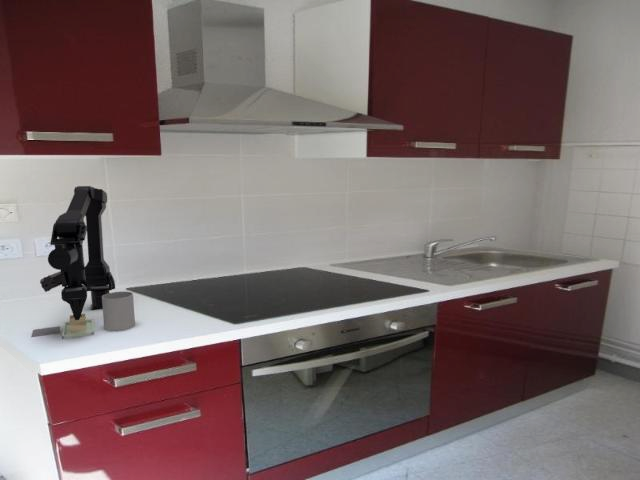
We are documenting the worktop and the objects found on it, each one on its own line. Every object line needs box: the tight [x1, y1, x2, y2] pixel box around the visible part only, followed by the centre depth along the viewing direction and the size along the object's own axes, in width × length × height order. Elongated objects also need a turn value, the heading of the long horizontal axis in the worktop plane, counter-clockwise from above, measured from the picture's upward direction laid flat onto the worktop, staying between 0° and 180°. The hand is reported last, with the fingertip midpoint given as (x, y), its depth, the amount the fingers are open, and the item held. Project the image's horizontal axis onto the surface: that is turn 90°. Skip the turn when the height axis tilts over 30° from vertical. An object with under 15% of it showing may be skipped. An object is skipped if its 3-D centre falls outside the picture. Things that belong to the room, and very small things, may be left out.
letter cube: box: [69, 313, 87, 333], centre depth 144 cm, size 4×4×4 cm
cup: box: [102, 291, 136, 333], centre depth 146 cm, size 8×8×10 cm
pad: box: [30, 325, 61, 338], centre depth 143 cm, size 7×7×1 cm
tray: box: [61, 318, 95, 340], centre depth 145 cm, size 13×8×1 cm, turn 25°
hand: (77, 315), depth 144 cm, fingers open, 9 cm apart
